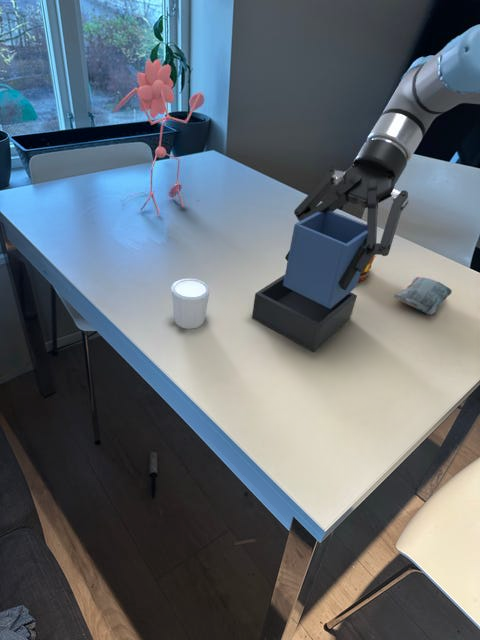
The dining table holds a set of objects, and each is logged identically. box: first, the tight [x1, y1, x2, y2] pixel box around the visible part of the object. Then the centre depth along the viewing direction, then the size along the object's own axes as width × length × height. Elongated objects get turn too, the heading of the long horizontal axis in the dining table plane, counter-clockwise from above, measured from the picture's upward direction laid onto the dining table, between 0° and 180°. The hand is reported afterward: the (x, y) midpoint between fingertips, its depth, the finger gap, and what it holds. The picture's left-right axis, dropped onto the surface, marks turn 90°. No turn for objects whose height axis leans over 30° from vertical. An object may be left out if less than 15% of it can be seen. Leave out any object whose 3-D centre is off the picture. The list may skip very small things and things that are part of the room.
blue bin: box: [283, 211, 368, 309], centre depth 71 cm, size 9×9×11 cm
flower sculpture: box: [111, 58, 205, 217], centre depth 113 cm, size 15×26×35 cm, turn 142°
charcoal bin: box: [251, 274, 358, 353], centre depth 86 cm, size 14×14×6 cm
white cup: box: [170, 278, 211, 330], centre depth 82 cm, size 7×7×7 cm
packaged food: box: [393, 276, 453, 316], centre depth 95 cm, size 9×12×5 cm
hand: (314, 273), depth 70 cm, fingers closed on blue bin, 9 cm apart
